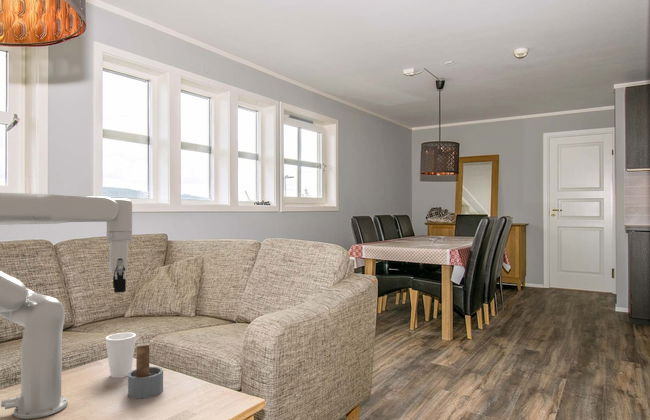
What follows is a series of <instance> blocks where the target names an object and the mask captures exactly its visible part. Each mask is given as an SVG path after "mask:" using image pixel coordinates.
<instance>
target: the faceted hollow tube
mask: <svg viewBox="0 0 650 420" xmlns="http://www.w3.org/2000/svg"><path fill="white" fill-rule="evenodd" d="M155 372H156V373H157V374H156V375H153V376H149V377H133V376H136V369H132V370H131V372H130V373H128V376H127V396H128V398H132V399H133V400H134V399H135V400H136V399H137V400H138V399H140V400H142V399H149V398H152V397H156V396H158V395H160V394H161V393H162V392H163V391H164V370H163V368H162V367H159V366H149V373H155Z"/></svg>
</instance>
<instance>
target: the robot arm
mask: <svg viewBox="0 0 650 420" xmlns="http://www.w3.org/2000/svg"><path fill="white" fill-rule="evenodd" d="M93 222H94V223H95V222H96V223H97V222H98V223H99V222H100V223H103V222H104V223H105V222H106V242H107V243H109V273H111V274H112V273H113V275H112V278H113V279H112V288H114V289H113V291H114V293H116V294H117V293H124V292H126V288H127V287H126V286H127V285H126V284H127V283H126V282H127V279H126V273H127V271H128V262H129V242H132V241H133V203H132V200H130V199H128V198H111V197H108V196H89V195H87V196H86V195H85V196H83V195H62V194H54V193H53V194H50V193H27V192H26V193H21V192H20V193H19V192H0V225H1V226H3V225H4V226H5V225H9V226H11V225H55V224H56V225H57V224H64V223H65V224H66V223H93ZM0 317H1V318H4V319H6V320H8V321H10V322H13V323H14V324H16V325H18V326H21V327H24V329H23V335H22V339H21V347H20V363H21V364H20V372H21V373H20V374H21V375H20V395H19V396H18V395H17V396H15V398H7V399H2V400H1V402H0V407H1V408H4V409H5V410H8V409H9V410H10V409H13V408H14V410H13V416H14V417H15V418H17V419H23V420H24V419H25V420H31V419H38V418H43V417H47V416H50V415H54V414H56V413H58V412H61V411H62V410H63V409H65V408H66V407H67V406H68V404H69V403H68V400H69V399H68V398H67V397H66V396H62V364H63V363H62V361H63V360H62V359H63V358H62V357H63V355H62V354H63V353H62V352H63V351H62V349H63V348H62V347H63V346H62V344H63V343H62V339H63V329H64V324H65V320H66V319H65V318H66V311H65V307H64V305H63V303H62V302H61V301H60V300H58V299H57V298H55V297H53V296H49V295H46V294H42V293H37V292H35V291H33V290H32V289H30V288H27V287H26V285H25V284H24V282H22V281H21V280H19V279H18V278H17V277H14V276H12V275H11V276H10V275H9V274H7V273H5V272H3V271H2V270H0Z"/></svg>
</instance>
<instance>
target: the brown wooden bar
mask: <svg viewBox="0 0 650 420" xmlns="http://www.w3.org/2000/svg"><path fill="white" fill-rule="evenodd" d="M135 347H136V350H135V351H136V357H135V358H136V362H135V363H136V364H135V365H136V366H135V368H136V377H149V367H150V343H149V342H146V343H137V344H136V343H135Z"/></svg>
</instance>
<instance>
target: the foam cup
mask: <svg viewBox="0 0 650 420" xmlns="http://www.w3.org/2000/svg"><path fill="white" fill-rule="evenodd" d="M136 342H137V334H136V333H134V332H117V333H112V334H110V335H107V336H105V347H106V352H107V360H108V367H109V373H110V377H111V378H115V379H118V378H125V377H128V373H130V372H131V371H132V370H133V369H132V368H133V362H134V356H135V347H136Z"/></svg>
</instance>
